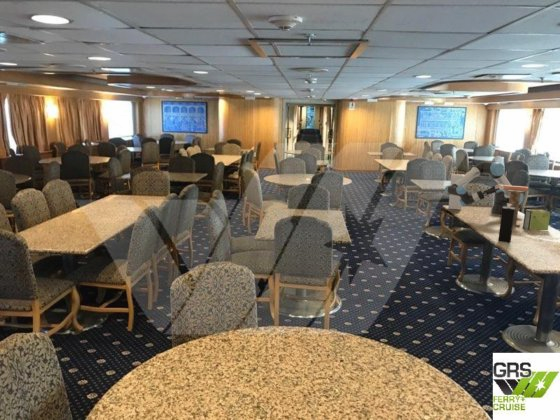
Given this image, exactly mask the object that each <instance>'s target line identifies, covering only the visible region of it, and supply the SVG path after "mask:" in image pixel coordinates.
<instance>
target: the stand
mask: <svg viewBox="0 0 560 420" xmlns="http://www.w3.org/2000/svg"><path fill="white" fill-rule="evenodd" d="M507 191H508V192H510V198H509V204H512V205H511V206H510V207H513V208H515V213H514V221H513V228H515V227H516V228H520V227H521V224H520V221H518V214H519V207H520V205H519V201H520V193H522V194H523V195H524V194H525V191H520V190H507Z"/></svg>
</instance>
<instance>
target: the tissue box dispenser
mask: <svg viewBox="0 0 560 420" xmlns="http://www.w3.org/2000/svg"><path fill="white" fill-rule="evenodd" d="M464 175H465V174H463V173H462V174H460V173H459V174H458V173H451V179H450V186H451V185H452V184H454V183H455V182H456V181H458V180H459V179H460V178H461V177H463V176H464ZM460 199H461V198H460V196H456V195H451V194H449V199H448V208H447V211H448V212H449V211H450V212H458V211H462V205H461V203H460Z"/></svg>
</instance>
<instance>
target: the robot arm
mask: <svg viewBox="0 0 560 420" xmlns="http://www.w3.org/2000/svg"><path fill="white" fill-rule="evenodd" d="M463 175H464V176H463V177H461V178H460V179H459V180H458V181H456V182H455V183H454V184H452V185H451V184H450V185H447V186H445V187H444V193H446V194H448V195H450V194H451V195H456V196H460V198H461V199H460V203H461V207H466V206H469V205H471V204H473V203H478V201H480V200H481V201H482V200H484V199H485V197H486V196H488V195H491V194H494V202H493V205H492V207H491V209H490V212H491V213H495V214H499V215H502V208H503V206H504V207H508V206H507V203H509V198H510V192H508V191H507V189H504V187H503V185H508V186H513V185H512V184H511V183H510V181H509V180H508V178H507V177H506V175H505V166H504V164H503V163H501V162H497V161H487V160H485V161H482V162H479V163H477V164H476V165H474V166H473V167H471V170H469V171H468V172H466V173H465V174H463ZM481 175H489V176H490V177H491V179H492V180H495V182H496V183H497V185H502V186H500V187H497V188H496V185H493V186H491V187H490V188H488V189H485V190H483V192H482V190H478V191H477V192H473V193H471V194H469V192H468V190H467V188H466V187H465V186H467V184H469V183H470V182H471V181H473V180H474V179H475V178H476V177H480V176H481ZM523 201H524V194H523V193H520V201H519V206H520V204H522V203H523Z"/></svg>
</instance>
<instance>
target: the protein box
mask: <svg viewBox="0 0 560 420" xmlns="http://www.w3.org/2000/svg"><path fill="white" fill-rule="evenodd" d="M550 216H551V212H550V211H549V210H544V209H525V210H524V216H523V224H522V228H524V229H525V230H528V231H540V232H541V230H548V231H549V225H550V218H551V217H550Z"/></svg>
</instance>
